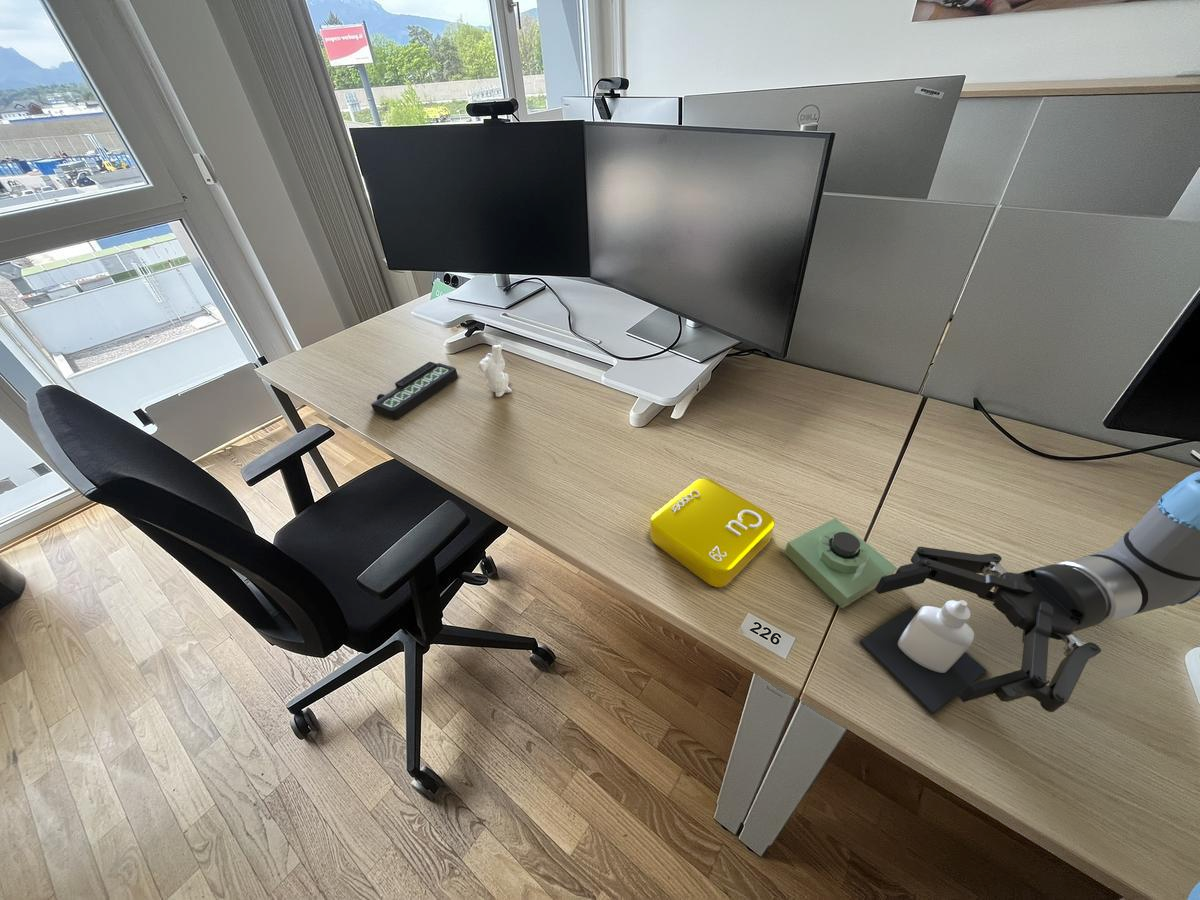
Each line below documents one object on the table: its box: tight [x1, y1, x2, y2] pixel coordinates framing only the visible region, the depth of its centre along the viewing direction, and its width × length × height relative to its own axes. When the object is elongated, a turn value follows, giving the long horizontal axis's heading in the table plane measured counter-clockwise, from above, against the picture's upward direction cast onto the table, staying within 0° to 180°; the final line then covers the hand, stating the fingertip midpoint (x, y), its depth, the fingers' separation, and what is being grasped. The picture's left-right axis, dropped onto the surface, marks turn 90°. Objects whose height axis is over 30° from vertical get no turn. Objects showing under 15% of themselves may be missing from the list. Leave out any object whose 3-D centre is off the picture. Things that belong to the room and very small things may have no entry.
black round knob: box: [830, 532, 860, 559], centre depth 67 cm, size 4×4×2 cm
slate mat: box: [859, 606, 988, 715], centre depth 59 cm, size 10×10×1 cm
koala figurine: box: [477, 342, 512, 398], centre depth 110 cm, size 8×7×12 cm
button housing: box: [784, 517, 898, 609], centre depth 69 cm, size 11×10×4 cm
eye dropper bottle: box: [898, 599, 975, 673], centre depth 55 cm, size 4×6×12 cm
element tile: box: [649, 477, 776, 588], centre depth 74 cm, size 15×15×5 cm
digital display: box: [370, 361, 459, 421], centre depth 116 cm, size 21×3×10 cm
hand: (918, 634), depth 54 cm, fingers open, 13 cm apart
